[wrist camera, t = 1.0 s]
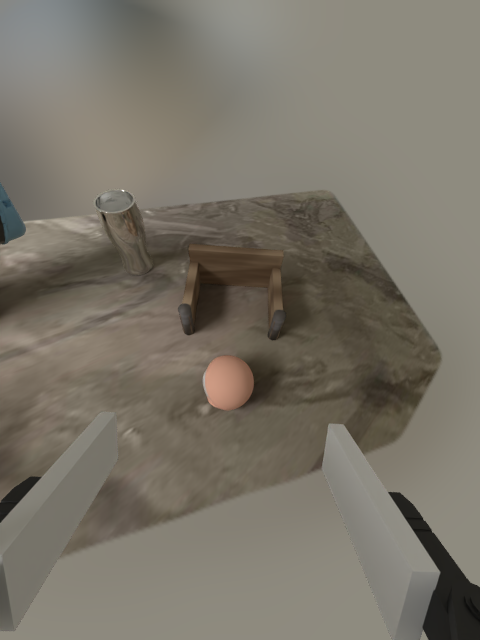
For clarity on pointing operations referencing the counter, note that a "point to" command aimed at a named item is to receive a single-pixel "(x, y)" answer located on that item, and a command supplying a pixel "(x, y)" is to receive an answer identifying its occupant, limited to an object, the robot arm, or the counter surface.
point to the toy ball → (228, 382)
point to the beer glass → (124, 229)
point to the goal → (234, 279)
